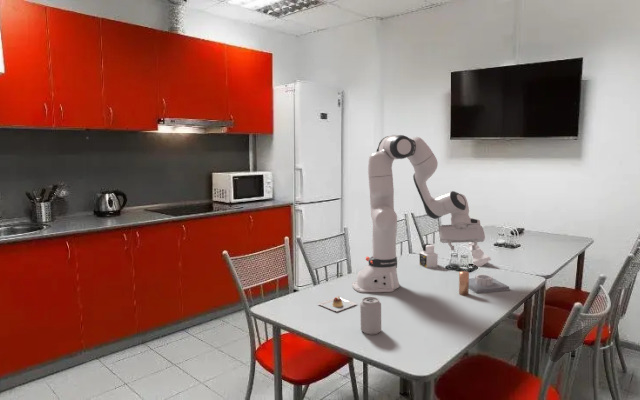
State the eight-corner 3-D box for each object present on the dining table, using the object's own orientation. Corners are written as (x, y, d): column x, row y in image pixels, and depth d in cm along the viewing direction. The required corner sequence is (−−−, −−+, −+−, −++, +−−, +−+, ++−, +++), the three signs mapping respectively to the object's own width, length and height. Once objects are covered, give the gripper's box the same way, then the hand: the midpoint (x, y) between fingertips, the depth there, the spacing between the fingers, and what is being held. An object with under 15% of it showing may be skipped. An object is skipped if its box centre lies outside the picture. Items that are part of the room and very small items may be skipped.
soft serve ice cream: (469, 270, 226) (462, 245, 226) (461, 265, 241) (454, 241, 241) (492, 264, 225) (485, 239, 225) (483, 259, 240) (476, 235, 240)
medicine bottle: (419, 264, 234) (419, 243, 233) (430, 263, 236) (430, 242, 235) (426, 268, 227) (426, 246, 226) (437, 266, 229) (437, 245, 228)
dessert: (317, 306, 179) (317, 295, 179) (338, 299, 187) (338, 288, 186) (336, 314, 170) (336, 302, 170) (357, 306, 178) (357, 295, 177)
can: (379, 326, 157) (379, 295, 155) (383, 335, 149) (382, 302, 148) (359, 327, 156) (358, 296, 155) (362, 336, 149) (361, 303, 147)
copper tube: (461, 296, 185) (462, 273, 184) (457, 292, 189) (457, 271, 187) (470, 295, 186) (470, 273, 184) (465, 292, 189) (465, 270, 188)
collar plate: (476, 293, 188) (476, 283, 187) (459, 282, 202) (459, 273, 202) (509, 289, 190) (509, 280, 190) (490, 279, 205) (490, 270, 205)
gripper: (438, 221, 205) (440, 247, 197) (483, 220, 199) (486, 245, 191) (438, 228, 210) (440, 253, 202) (482, 226, 204) (485, 252, 196)
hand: (463, 249), depth 197 cm, fingers open, 8 cm apart
